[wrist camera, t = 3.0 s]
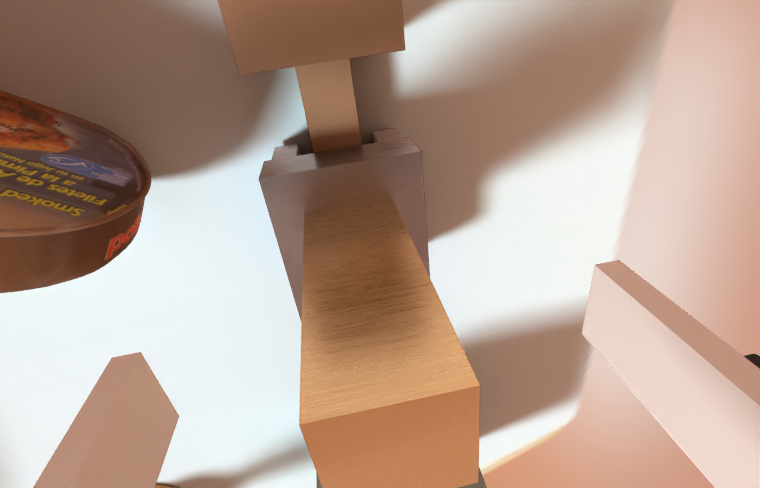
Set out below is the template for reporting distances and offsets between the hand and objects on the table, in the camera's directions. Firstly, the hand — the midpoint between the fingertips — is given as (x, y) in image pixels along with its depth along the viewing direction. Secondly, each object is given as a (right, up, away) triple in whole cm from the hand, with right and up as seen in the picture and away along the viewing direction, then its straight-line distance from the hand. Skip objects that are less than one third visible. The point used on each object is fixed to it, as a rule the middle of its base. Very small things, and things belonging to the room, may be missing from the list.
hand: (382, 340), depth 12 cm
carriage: (-2, +5, +8) cm, 9 cm away
